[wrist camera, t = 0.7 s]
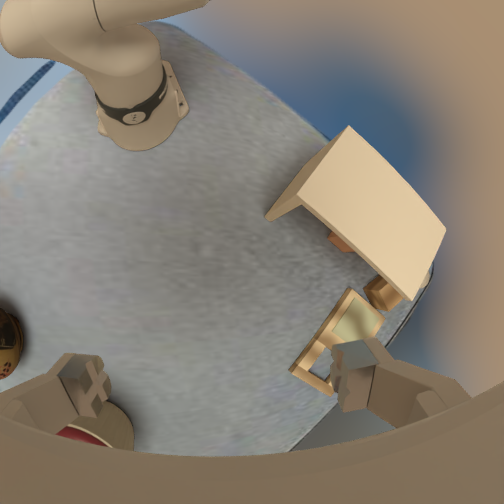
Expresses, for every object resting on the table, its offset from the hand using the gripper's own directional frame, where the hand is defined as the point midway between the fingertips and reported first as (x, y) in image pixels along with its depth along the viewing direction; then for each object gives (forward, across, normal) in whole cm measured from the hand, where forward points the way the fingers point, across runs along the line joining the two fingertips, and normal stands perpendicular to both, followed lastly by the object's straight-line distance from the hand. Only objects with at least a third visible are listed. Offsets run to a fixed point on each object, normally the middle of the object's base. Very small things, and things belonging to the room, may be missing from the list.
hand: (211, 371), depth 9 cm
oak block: (+45, -28, +18) cm, 56 cm away
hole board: (+41, -18, +27) cm, 52 cm away
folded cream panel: (+47, -18, +4) cm, 50 cm away
